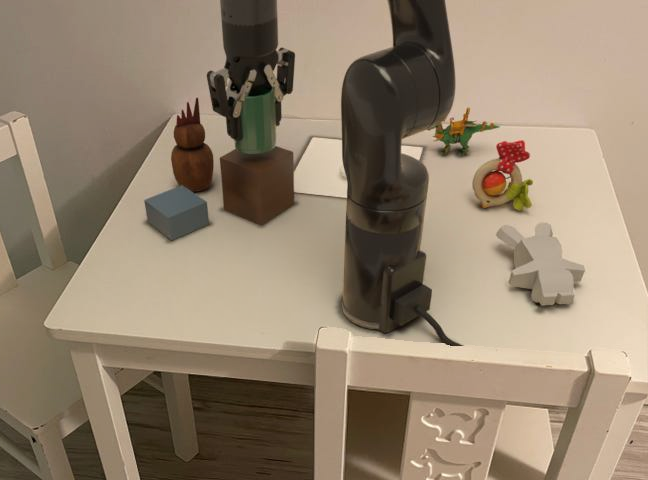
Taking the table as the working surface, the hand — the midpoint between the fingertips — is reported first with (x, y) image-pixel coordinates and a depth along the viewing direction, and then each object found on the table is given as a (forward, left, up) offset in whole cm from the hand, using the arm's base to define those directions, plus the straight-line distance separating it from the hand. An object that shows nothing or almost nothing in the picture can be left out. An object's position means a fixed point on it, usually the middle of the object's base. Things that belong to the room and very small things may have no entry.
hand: (255, 131), depth 109 cm
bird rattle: (-25, -28, -13) cm, 40 cm away
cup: (0, 0, -2) cm, 2 cm away
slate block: (+4, +13, -13) cm, 18 cm away
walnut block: (0, 0, -13) cm, 13 cm away
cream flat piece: (-1, -20, -13) cm, 24 cm away
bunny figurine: (-40, -17, -13) cm, 45 cm away
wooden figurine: (+12, +4, -13) cm, 18 cm away
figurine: (-9, -37, -13) cm, 40 cm away
